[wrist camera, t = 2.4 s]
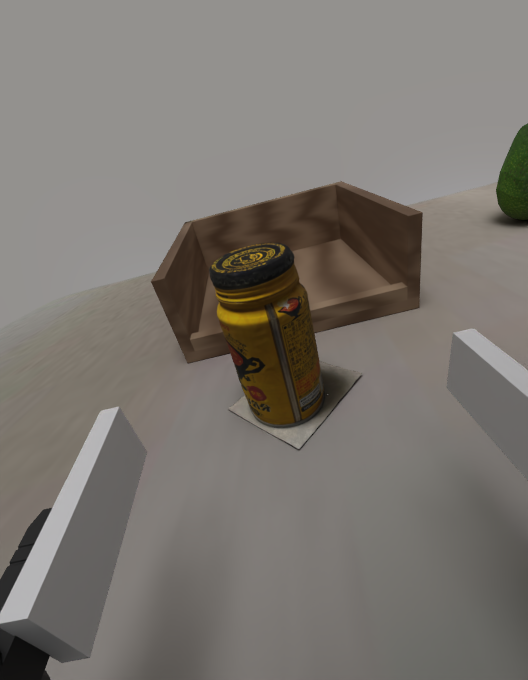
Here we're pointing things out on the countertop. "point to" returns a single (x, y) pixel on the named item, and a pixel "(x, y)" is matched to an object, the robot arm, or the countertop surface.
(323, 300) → the tray
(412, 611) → the countertop surface
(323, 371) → the condiment
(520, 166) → the avocado
